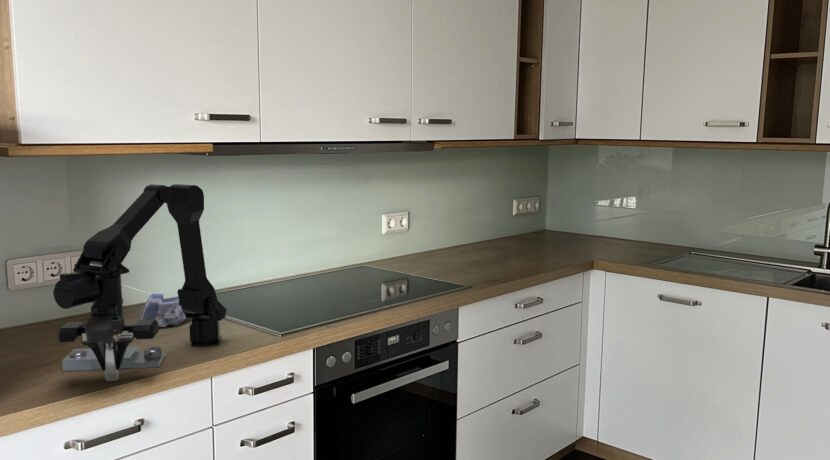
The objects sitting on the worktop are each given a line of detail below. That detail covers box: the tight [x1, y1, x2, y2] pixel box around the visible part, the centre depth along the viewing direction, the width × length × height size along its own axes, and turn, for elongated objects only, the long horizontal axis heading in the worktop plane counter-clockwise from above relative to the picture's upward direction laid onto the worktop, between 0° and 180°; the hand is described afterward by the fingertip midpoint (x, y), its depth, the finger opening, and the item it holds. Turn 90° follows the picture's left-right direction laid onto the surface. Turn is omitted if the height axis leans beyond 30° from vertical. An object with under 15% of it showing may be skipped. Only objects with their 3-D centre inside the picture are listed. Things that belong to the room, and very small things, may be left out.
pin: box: [103, 335, 119, 382], centre depth 146 cm, size 2×2×9 cm
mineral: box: [140, 293, 187, 328], centre depth 188 cm, size 14×10×10 cm
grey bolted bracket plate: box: [61, 346, 167, 372], centre depth 157 cm, size 20×8×3 cm, turn 99°
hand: (111, 369), depth 147 cm, fingers closed on pin, 2 cm apart
